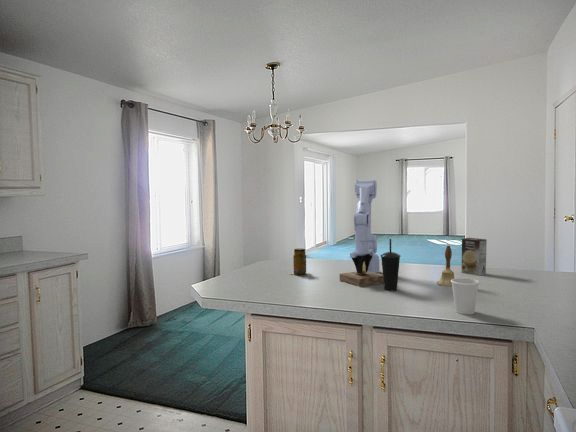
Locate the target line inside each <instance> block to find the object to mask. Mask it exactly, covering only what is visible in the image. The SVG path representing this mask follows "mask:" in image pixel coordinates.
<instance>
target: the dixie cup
mask: <svg viewBox="0 0 576 432" xmlns="http://www.w3.org/2000/svg"><path fill="white" fill-rule="evenodd" d="M451 282H452V286H451V287H452V296H453V303H454V304H453V305H454V311H455V313H458V314H461V315H473V314H475V311H476V304H477V298H478V297H477V296H478V291H479V290H478V289H479V285H480V281H479V280H477V279H474V278H463V277H459V278H456V277H455V279H452V280H451Z"/></svg>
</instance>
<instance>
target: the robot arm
mask: <svg viewBox="0 0 576 432" xmlns="http://www.w3.org/2000/svg"><path fill="white" fill-rule="evenodd" d="M377 186H378V185H377V180H376V179H361V180H358V179H356V180H355V182H354V192H355V196H356V198H357V199H359V201H358V202H357V203H356V209H355V214H353V227H354V228H353V229H354V235H355V236H354V239H355V241H354V243H355V246H354V247H355V248H354V249H355V250H353V251H352V252H349V258H350V259H351V260H352V262H353V263H354V264H353V265H354V266H355V271H354V272H357V273H360V274H361V273H362V269H363V262H364V261H365V264H366V272H367V271H369V272H373V273H377V274H381V272H382V271H380V257H379V256H380V255H379V254H377V252H378V242H377V237H376V236H375V234H373V233H372V224H371V223H372V201H373V199H376V197H377V191H378V190H377Z"/></svg>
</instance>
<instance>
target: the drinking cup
mask: <svg viewBox="0 0 576 432" xmlns="http://www.w3.org/2000/svg"><path fill="white" fill-rule="evenodd" d="M380 257H381V259H380V261H381V266H382V267H381V269H382V275H383V280H384V283H383V289H384V291H388V292H395V291H397V290H398V281H399V270H400V259H401V258H400V257H401V254H399V253H396V252H395V251H392V238H389V251H387V252H385V253H382V254H380Z"/></svg>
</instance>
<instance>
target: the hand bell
mask: <svg viewBox="0 0 576 432" xmlns="http://www.w3.org/2000/svg"><path fill="white" fill-rule="evenodd" d="M452 253H453V252H452V249H451V245H447V246H446V247H445V251H444V257H445V269H443V270H442V272H441V277H440V279H439V280H438V281H437V282H436V284H437V285H438V286H443V287H452V282H451V280H452V279H456V277H455V272H454V271H453V270H451V259H452Z"/></svg>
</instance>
